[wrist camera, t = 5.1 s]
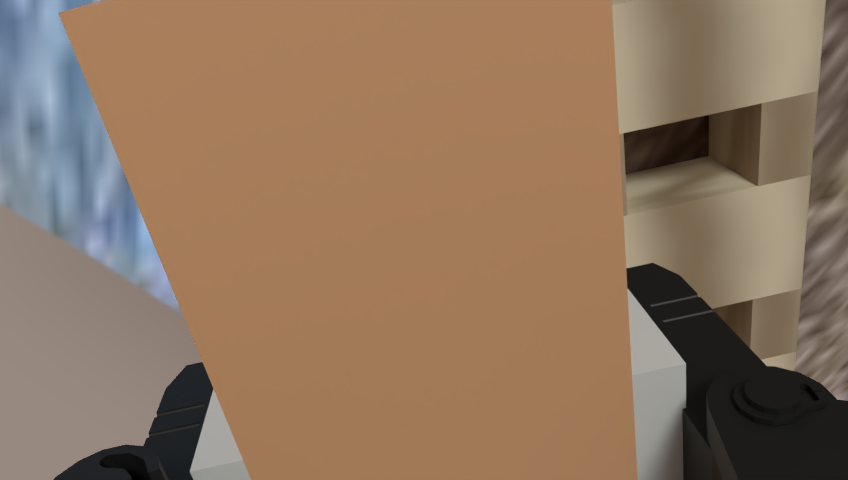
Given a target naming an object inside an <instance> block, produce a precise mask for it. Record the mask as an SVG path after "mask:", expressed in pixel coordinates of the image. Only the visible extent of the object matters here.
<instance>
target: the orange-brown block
mask: <svg viewBox="0 0 848 480" xmlns="http://www.w3.org/2000/svg"><path fill="white" fill-rule="evenodd" d="M59 16H60V18H61V21H62V23H63V25H64V28H65V30H66V33H67V35H68V38H69V40H70V42H71V45H72V47H73V50H74V52H75V55H76V57H77V59H78V62H79V64H80V67H81V69H82V71H83V74H84V76H85V79H86V81H87V84H88V86H89V88H90V91H91V93H92V96H93V98H94V101H95V103H96V105H97V108H98V110H99V113H100V115H101V117H102V120H103V122H104V125H105V127H106V130H107V132H108V134H109V137H110V139H111V142H112V144H113V147H114V149H115V151H116V154H117V156H118V159H119V161H120V163H121V166H122V168H123V171H124V173H125V176H126V178H127V180H128V183H129V185H130V188H131V190H132V193H133V195H134V197H135V200H136V202H137V205H138V207H139V209H140V212H141V214H142V217H143V219H144V222H145V224H146V226H147V229H148V231H149V234H150V236H151V239H152V241H153V243H154V246H155V248H156V251H157V253H158V255H159V258H160V260H161V263H162V265H163V268H164V270H165V272H166V275H167V277H168V280H169V282H170V285H171V287H172V289H173V292H174V294H175V297H176V299H177V301H178V304H179V306H180V309H181V311H182V314H183V316H184V318H185V321H186V323H187V326H188V328H189V330H190V333H191V335H192V338H193V340H194V343H195V345H196V347H197V350H198V352H199V355H200V357H201V360H202V362H203V364H204V367H205V369H206V372H207V374H208V377H209V379H210V381H211V384H212V386H213V389H214V391H215V393H216V396H217V398H218V401H219V403H220V406H221V408H222V410H223V413H224V415H225V418H226V420H227V423H228V425H229V427H230V430H231V432H232V435H233V437H234V439H235V442H236V444H237V447H238V449H239V452H240V454H241V456H242V459H243V461H244V464H245V466H246V469H247V471H248V473H249V476H250V478H251V480H638V478H637V459H636V440H635V422H634V403H633V384H632V366H631V347H630V328H629V310H628V291H627V272H626V254H625V235H624V216H623V198H622V179H621V160H620V142H619V123H618V105H617V86H616V67H615V49H614V30H613V11H612V0H100V1H97V2H94V3H90V4H87V5H84V6H80V7H77V8H74V9H70V10H67V11H64V12H60V13H59Z"/></svg>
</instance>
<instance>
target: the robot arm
mask: <svg viewBox="0 0 848 480" xmlns="http://www.w3.org/2000/svg"><path fill="white" fill-rule="evenodd" d="M626 272H627V291H628V310H629V328H630V347H631V366H632V384H633V403H634V422H635V440H636V459H637V478H638V480H848V401H843V400H837V399H836V398H835V397H834V396H833V395H832V394H831V393H830V392H829V391H828V390H827V389H826V388H825V387H824V386H823V385H822V384H820V383H819V382H817V381H815V380H813V379H811V378H809V377H807V376H805V375H803V374H801V373H799V372H795V371H791V370H787V369H783V368H779V367H775V366H766V365H765V364H764V363H763V362H762V360H761V359H760V358H759V357H758V356H757V355H756V354H755V353H754V352H753V351H752V350H751V349H750V348H749V347H748V346H747V345H746V344H745V343H744V342H743V341H742V340H741V339H740V337H739V336H738V335H737V334H736V333H735V332H734V331H733V330H732V329H731V328H730V327H729V326H728V325H727V324H726V323H725V322H724V321H723V320H722V319H721V318H720V317H719V315H718V314H717V313H716V312H712V308H711V307H710V306H709V305H708V304H707V303H706V302H705V301H704V300H703V299H702V298H701V297H698V295H697V292H696V291H695V290H694V289H693V288H692V287H691V286H690V285H689V284H688V283H687V282H686V281H685V280H684V279H683V278H682V277H681V276H680V275H678V274H676V273H674V272H672V271H670V270H668V269H665V268H663V267H661V266H659V265H657V264H655V263H649V264H645V265H640V266H635V267H631V268H626ZM54 480H251V478H250V476H249V473H248V471H247V469H246V466H245V464H244V461H243V459H242V456H241V454H240V452H239V449H238V447H237V444H236V442H235V439H234V437H233V435H232V432H231V430H230V427H229V425H228V423H227V420H226V418H225V415H224V413H223V410H222V408H221V406H220V403H219V401H218V398H217V396H216V393H215V391H214V389H213V386H212V384H211V381H210V379H209V377H208V374H207V372H206V369H205V367H204V364H203V362H201V363H196V364H192V365H187V366H186V367H185V368H184V369H183V370H182V371H181V372H180V374H179V375H178V376H177V377H176V378H175V379H174V380H173V381H172V383H171V384H170V385H169V386H168V387H167V388H166V390H165V392H164V395H163V398H162V400H161V403H160V405H159V408H158V410H157V417H155V418H154V421H153V423H152V426H151V428H150V431H149V438H147V439H146V441H145V444H144V446H134V445H122V446H118V447H113V448H109V449H104V450H102V451H100V452H97V453H95V454H93V455H91V456H89V457H86V458H84V459H82V460H80V461H78V462H77V463H75V464H74V465H72V466H71V467H69V468H68V469H67V470H65V471H64V472H63V473H61V474H59V475H58V476H57V477H55V479H54Z"/></svg>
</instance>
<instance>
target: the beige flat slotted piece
mask: <svg viewBox="0 0 848 480" xmlns="http://www.w3.org/2000/svg"><path fill="white" fill-rule="evenodd" d="M825 4H826V0H612V11H613V30H614V49H615V67H616V86H617V105H618V123H619V142H620V160H621V179H622V198H623V216H624V235H625V254H626V268H631V267H635V266H640V265H645V264H649V263H655V264H657V265H659V266H661V267H663V268H665V269H668V270H670V271H672V272H674V273H676V274H678V275H680V276H681V277H682V278H683V279H684V280H685V281H686V282H687V283H688V284H689V285H690V286H691V287H692V288H693V289H694V290H695V291H696V292H697V295H698V297H701V298H702V299H703V300H704V301H705V302H706V303H707V304H708V305H709V306H710V307H711V308H712V312H716V313H717V314H718V315H719V317H720V318H721V319H722V320H723V321H724V322H725V323H726V324H727V325H728V326H729V327H730V328H731V329H732V330H733V331H734V332H735V333H736V334H737V335H738V336H739V337H740V339H741V340H742V341H743V342H744V343H745V344H746V345H747V346H748V347H749V348H750V349H751V350H752V351H753V352H754V353H755V354H756V355H757V356H758V357H759V358H760V359H761V360H762V362H763V363H764V364H765V365H766V366H775V367H779V368H783V369H787V370H791V371H794V369H795V357H796V345H797V334H798V322H799V310H800V298H801V286H802V275H803V263H804V251H805V239H806V228H807V216H808V204H809V192H810V180H811V169H812V157H813V145H814V133H815V122H816V110H817V98H818V86H819V75H820V63H821V51H822V39H823V27H824V16H825ZM705 115H709V151H708V156H706V157H701V158H697V159H692V160H687V161H683V162H678V163H674V164H669V165H665V166H660V167H656V168H651V169H646V170H642V171H637V172H633V173H628V174H625V155H624V135H623V133H627V132H632V131H636V130H641V129H646V128H650V127H655V126H659V125H664V124H669V123H673V122H678V121H682V120H687V119H692V118H696V117H701V116H705Z"/></svg>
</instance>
